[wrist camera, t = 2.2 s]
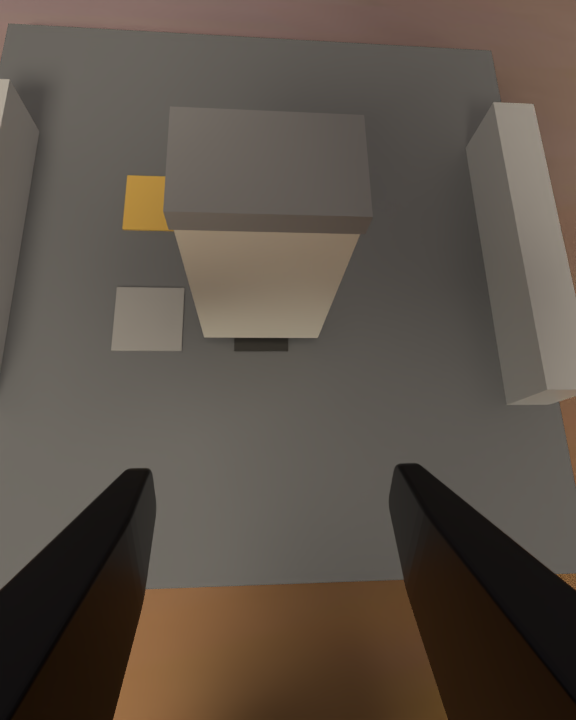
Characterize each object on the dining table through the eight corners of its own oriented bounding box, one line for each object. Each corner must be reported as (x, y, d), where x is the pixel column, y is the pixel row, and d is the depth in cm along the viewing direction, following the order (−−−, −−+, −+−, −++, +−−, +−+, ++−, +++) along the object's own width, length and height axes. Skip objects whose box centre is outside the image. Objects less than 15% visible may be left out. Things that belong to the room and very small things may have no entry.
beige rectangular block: (319, 340, 21) (372, 217, 12) (201, 339, 20) (163, 211, 11) (317, 275, 22) (364, 114, 13) (204, 273, 21) (169, 106, 12)
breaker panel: (568, 567, 21) (652, 585, 16) (-81, 591, 18) (-182, 618, 14) (479, 73, 29) (519, -3, 24) (21, 49, 26) (-23, -39, 22)
